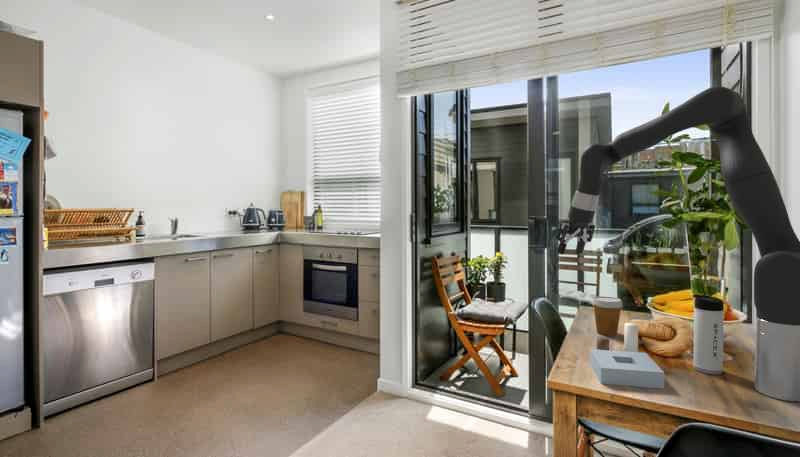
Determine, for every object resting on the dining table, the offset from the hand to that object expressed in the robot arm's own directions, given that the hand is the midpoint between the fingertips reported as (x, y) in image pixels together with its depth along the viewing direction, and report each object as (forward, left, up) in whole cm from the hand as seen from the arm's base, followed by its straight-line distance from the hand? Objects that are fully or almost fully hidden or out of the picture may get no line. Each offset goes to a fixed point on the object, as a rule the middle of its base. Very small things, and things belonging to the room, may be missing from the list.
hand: (569, 253), depth 138 cm
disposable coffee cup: (-13, -8, -29) cm, 33 cm away
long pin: (-14, +17, -29) cm, 36 cm away
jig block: (-9, +30, -29) cm, 42 cm away
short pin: (-7, +15, -29) cm, 33 cm away
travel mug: (-31, +22, -29) cm, 48 cm away
